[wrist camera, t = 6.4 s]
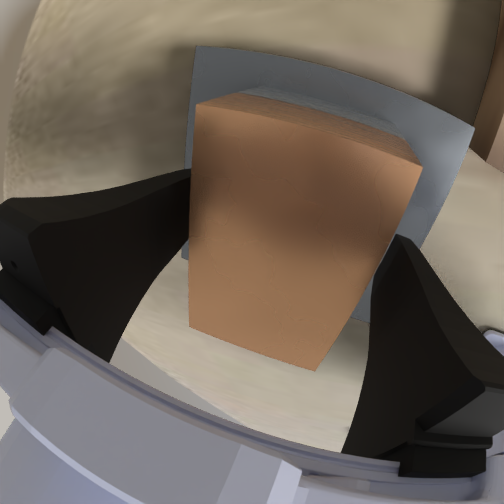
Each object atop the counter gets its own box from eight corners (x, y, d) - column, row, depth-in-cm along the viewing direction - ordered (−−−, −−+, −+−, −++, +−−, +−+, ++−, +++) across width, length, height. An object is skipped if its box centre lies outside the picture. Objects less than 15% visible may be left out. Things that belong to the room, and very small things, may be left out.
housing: (332, 284, 14) (314, 371, 10) (235, 252, 15) (189, 326, 11) (393, 123, 9) (422, 167, 5) (261, 86, 10) (196, 104, 6)
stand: (372, 292, 16) (371, 323, 15) (201, 233, 18) (181, 257, 16) (455, 116, 10) (475, 128, 8) (222, 47, 11) (196, 45, 9)
